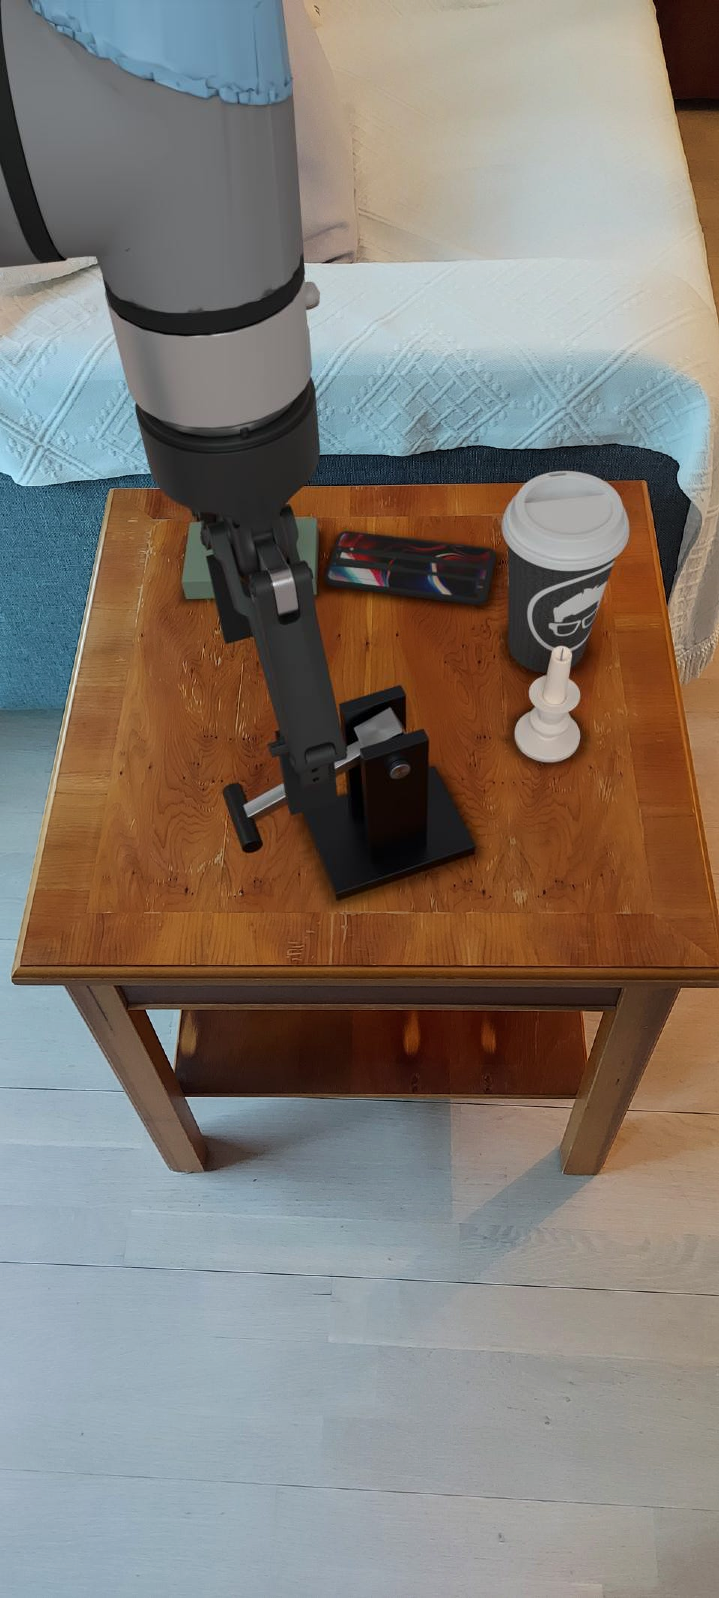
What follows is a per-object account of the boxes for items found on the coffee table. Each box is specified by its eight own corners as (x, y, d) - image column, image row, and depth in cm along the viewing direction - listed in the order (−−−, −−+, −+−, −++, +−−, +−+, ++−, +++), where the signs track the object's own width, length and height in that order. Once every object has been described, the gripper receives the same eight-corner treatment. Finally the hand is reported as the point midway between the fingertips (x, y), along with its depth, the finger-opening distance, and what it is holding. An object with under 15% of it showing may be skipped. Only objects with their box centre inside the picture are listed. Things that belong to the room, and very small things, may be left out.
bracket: (336, 901, 73) (322, 794, 62) (302, 816, 77) (283, 701, 66) (475, 854, 75) (486, 741, 63) (434, 773, 79) (438, 654, 68)
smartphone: (486, 602, 88) (322, 581, 91) (486, 607, 89) (322, 586, 91) (497, 547, 92) (340, 528, 95) (497, 553, 93) (340, 534, 95)
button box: (185, 599, 91) (177, 566, 88) (194, 540, 96) (186, 506, 93) (316, 595, 91) (313, 561, 88) (318, 535, 95) (315, 501, 92)
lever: (251, 859, 67) (235, 845, 65) (231, 801, 70) (214, 786, 68) (422, 764, 66) (410, 747, 64) (394, 709, 68) (382, 691, 66)
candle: (577, 766, 79) (598, 679, 70) (511, 759, 80) (523, 671, 71) (581, 715, 82) (600, 625, 73) (516, 708, 82) (529, 618, 74)
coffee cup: (609, 615, 88) (641, 473, 76) (593, 696, 83) (625, 558, 70) (501, 597, 90) (516, 456, 77) (480, 676, 85) (492, 537, 72)
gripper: (419, 554, 35) (413, 865, 52) (231, 226, 48) (276, 560, 66) (212, 611, 34) (277, 910, 51) (78, 258, 47) (165, 590, 65)
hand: (276, 713), depth 59 cm, fingers open, 13 cm apart
